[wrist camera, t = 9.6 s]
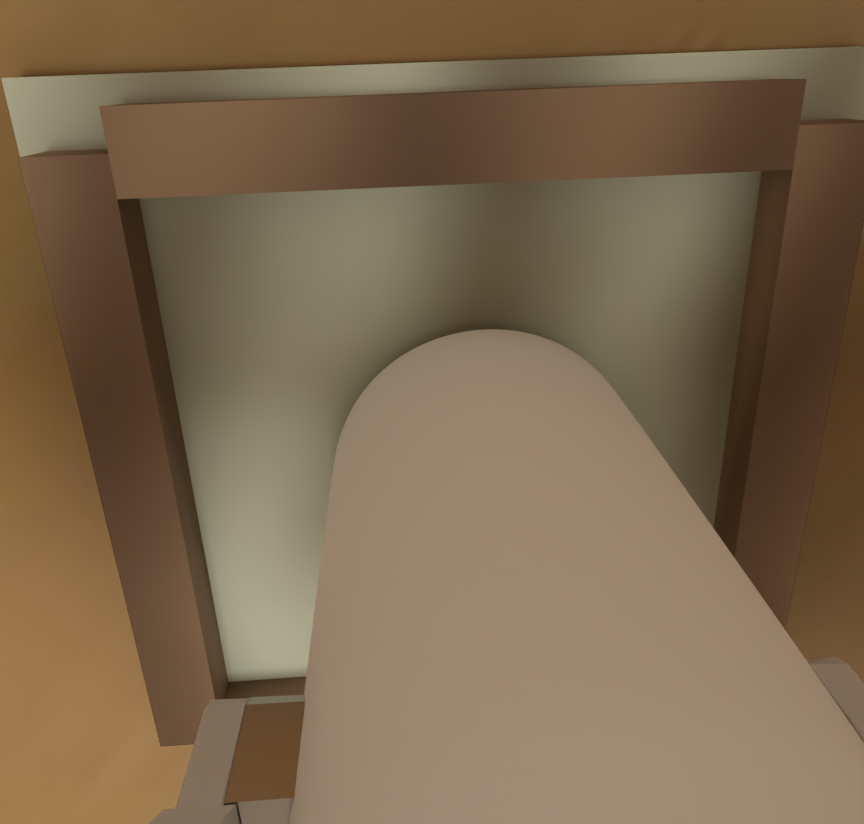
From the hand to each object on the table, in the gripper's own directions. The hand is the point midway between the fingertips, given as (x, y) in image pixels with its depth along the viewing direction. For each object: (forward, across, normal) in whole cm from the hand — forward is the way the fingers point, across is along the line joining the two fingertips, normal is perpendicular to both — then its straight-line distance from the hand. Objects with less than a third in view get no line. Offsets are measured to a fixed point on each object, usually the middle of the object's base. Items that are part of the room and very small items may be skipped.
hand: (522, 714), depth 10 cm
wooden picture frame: (+8, 0, 0) cm, 8 cm away
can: (+8, 0, 0) cm, 8 cm away
